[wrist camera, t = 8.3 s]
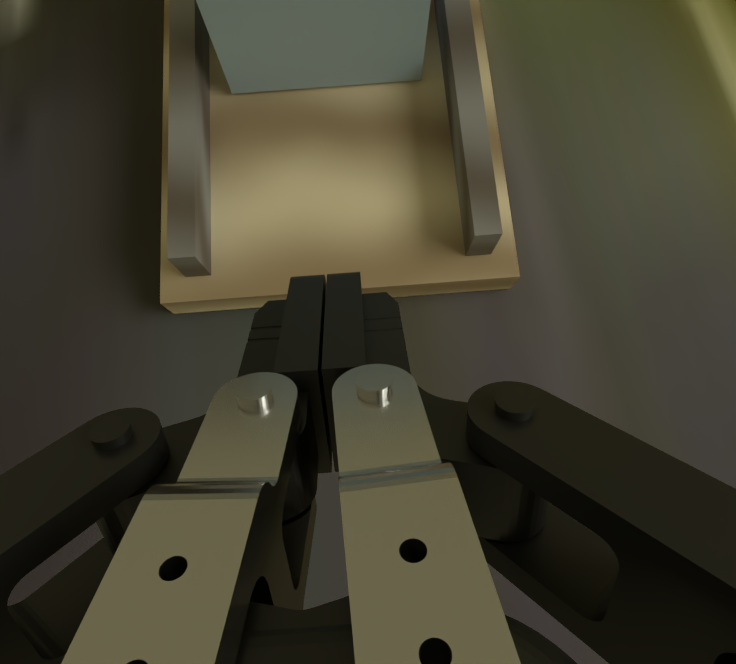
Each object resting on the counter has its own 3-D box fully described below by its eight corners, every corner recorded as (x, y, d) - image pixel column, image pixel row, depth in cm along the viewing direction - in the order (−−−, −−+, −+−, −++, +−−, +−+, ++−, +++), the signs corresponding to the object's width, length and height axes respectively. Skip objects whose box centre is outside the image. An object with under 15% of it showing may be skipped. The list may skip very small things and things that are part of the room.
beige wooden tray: (510, 288, 23) (536, 255, 19) (174, 313, 22) (135, 285, 19) (443, -182, 29) (453, -275, 25) (177, -164, 28) (149, -254, 25)
